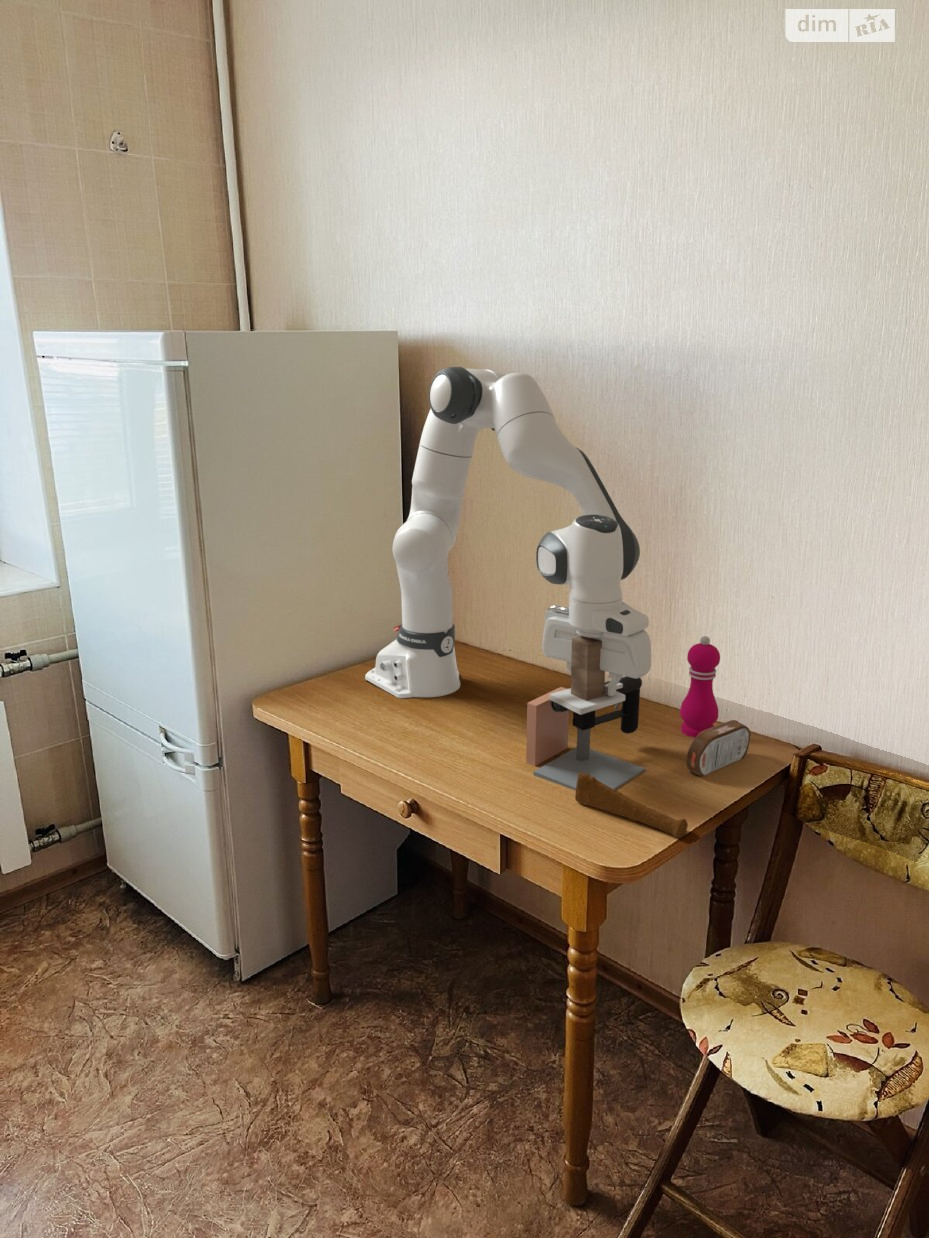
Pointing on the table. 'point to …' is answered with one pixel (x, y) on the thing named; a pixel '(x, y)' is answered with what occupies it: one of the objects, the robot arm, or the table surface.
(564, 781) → the mat
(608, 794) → the primitive tool
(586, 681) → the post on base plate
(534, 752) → the tile
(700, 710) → the pepper mill
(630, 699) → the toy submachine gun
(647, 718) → the table surface
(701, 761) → the tin
